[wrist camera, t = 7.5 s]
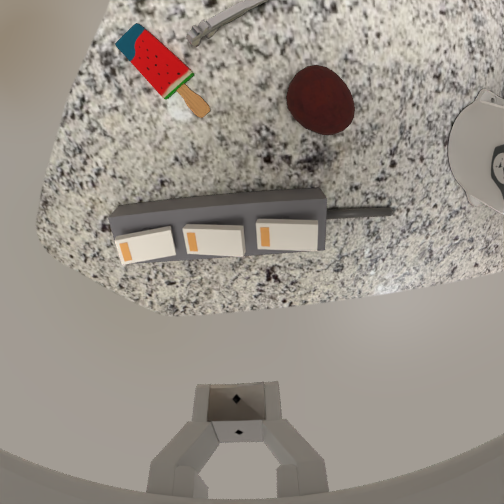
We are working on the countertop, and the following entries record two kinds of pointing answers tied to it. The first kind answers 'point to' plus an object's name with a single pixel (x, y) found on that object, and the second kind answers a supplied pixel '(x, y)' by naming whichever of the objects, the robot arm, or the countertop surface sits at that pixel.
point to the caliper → (220, 20)
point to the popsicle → (160, 67)
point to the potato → (320, 100)
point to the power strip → (232, 216)
